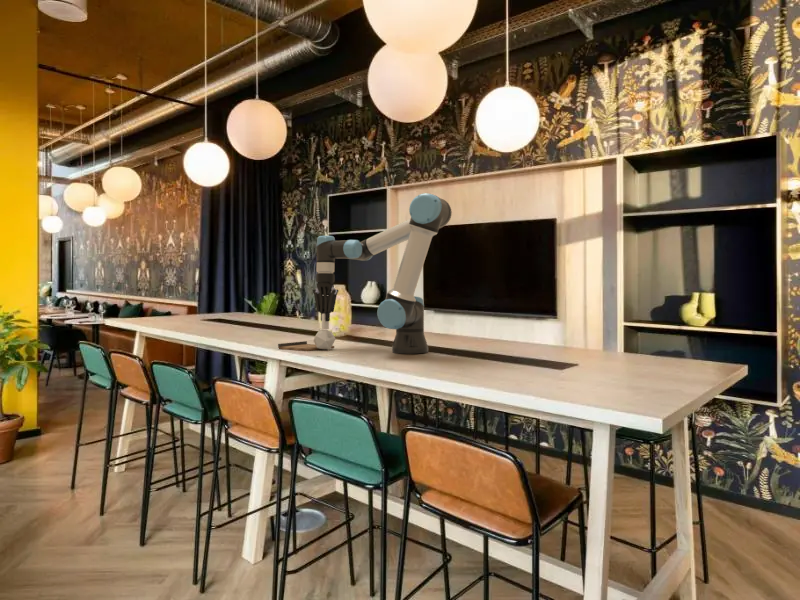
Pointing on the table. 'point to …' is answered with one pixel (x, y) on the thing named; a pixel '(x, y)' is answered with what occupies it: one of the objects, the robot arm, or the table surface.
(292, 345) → the board
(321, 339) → the die
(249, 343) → the table surface
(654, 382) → the table surface
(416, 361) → the table surface
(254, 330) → the table surface
